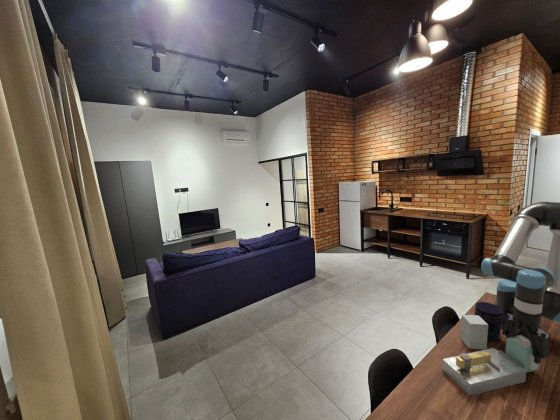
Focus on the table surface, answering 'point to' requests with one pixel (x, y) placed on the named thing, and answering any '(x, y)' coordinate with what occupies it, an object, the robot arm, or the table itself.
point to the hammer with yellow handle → (472, 360)
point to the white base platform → (486, 373)
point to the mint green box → (520, 351)
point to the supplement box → (474, 331)
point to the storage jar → (490, 319)
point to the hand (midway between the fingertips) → (521, 360)
